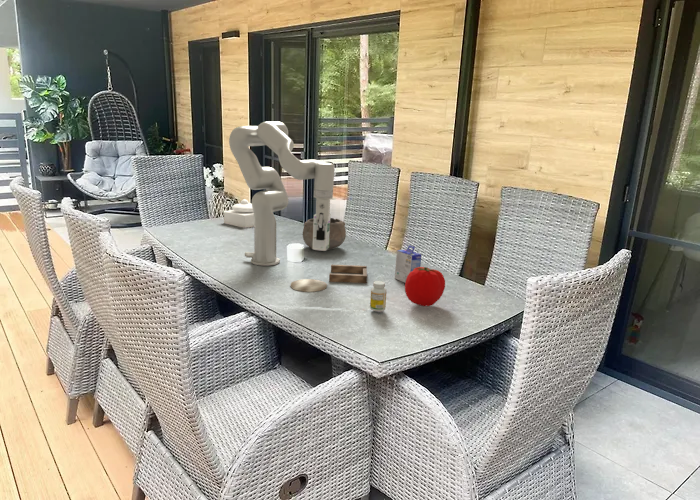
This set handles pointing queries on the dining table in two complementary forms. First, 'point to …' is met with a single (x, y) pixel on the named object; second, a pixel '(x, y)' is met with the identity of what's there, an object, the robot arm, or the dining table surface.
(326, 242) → the syrup box
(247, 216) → the butter dish
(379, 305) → the supplement bottle
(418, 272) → the tomato
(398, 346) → the dining table surface
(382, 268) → the dining table surface
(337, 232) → the clay pot
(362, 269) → the shelf rack
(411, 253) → the ink cartridge box
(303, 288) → the pad
